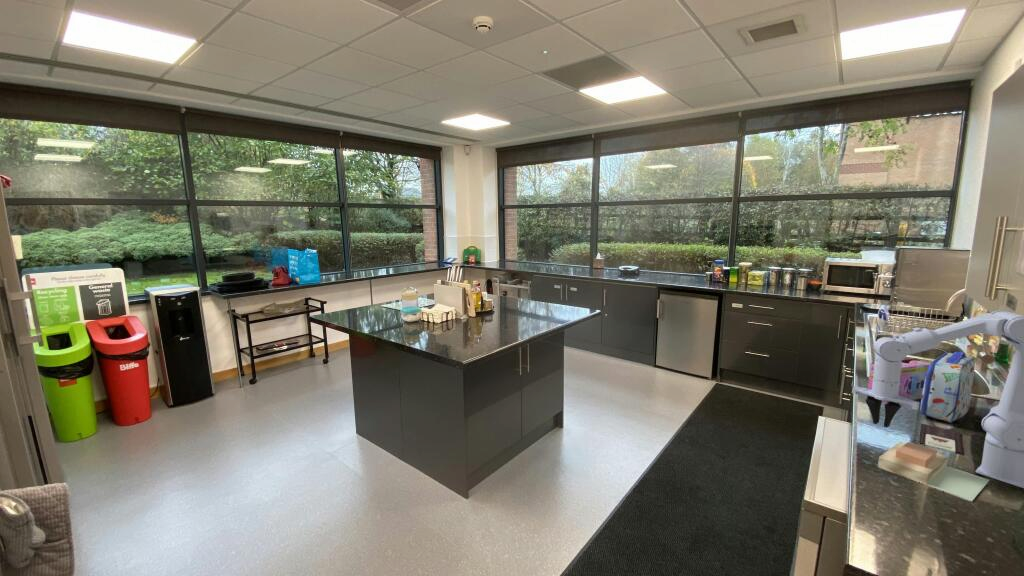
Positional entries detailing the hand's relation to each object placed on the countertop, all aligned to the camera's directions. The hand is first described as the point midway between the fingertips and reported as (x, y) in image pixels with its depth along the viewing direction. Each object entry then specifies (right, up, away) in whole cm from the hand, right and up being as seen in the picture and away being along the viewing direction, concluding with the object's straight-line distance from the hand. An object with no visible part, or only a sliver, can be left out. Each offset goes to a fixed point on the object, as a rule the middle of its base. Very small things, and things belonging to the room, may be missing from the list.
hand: (881, 424), depth 121 cm
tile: (+4, -7, -6) cm, 10 cm away
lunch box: (+47, -5, +28) cm, 55 cm away
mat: (+9, -11, -13) cm, 19 cm away
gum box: (+46, -3, +43) cm, 63 cm away
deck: (+4, -10, -5) cm, 12 cm away
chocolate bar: (+27, -8, +10) cm, 30 cm away
